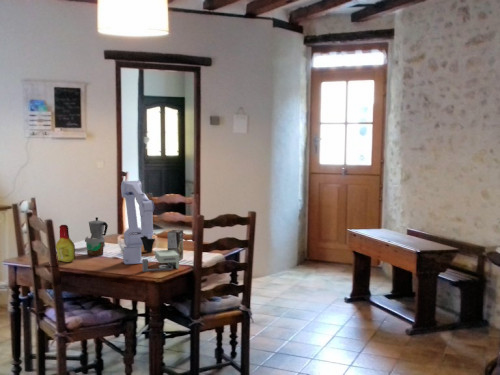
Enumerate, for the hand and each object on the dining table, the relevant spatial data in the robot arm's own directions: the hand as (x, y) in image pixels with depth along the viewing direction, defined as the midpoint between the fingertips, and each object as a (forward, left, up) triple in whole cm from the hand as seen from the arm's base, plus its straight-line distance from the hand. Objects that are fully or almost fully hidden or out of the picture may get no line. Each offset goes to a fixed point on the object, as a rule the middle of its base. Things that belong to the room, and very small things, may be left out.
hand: (147, 251), depth 287 cm
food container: (-24, +45, -10) cm, 52 cm away
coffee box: (+18, +21, -10) cm, 30 cm away
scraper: (+5, +4, -10) cm, 12 cm away
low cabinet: (+11, +8, -10) cm, 17 cm away
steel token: (+9, +6, -10) cm, 15 cm away
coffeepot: (-19, +69, -10) cm, 72 cm away
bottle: (-39, +34, -10) cm, 52 cm away
